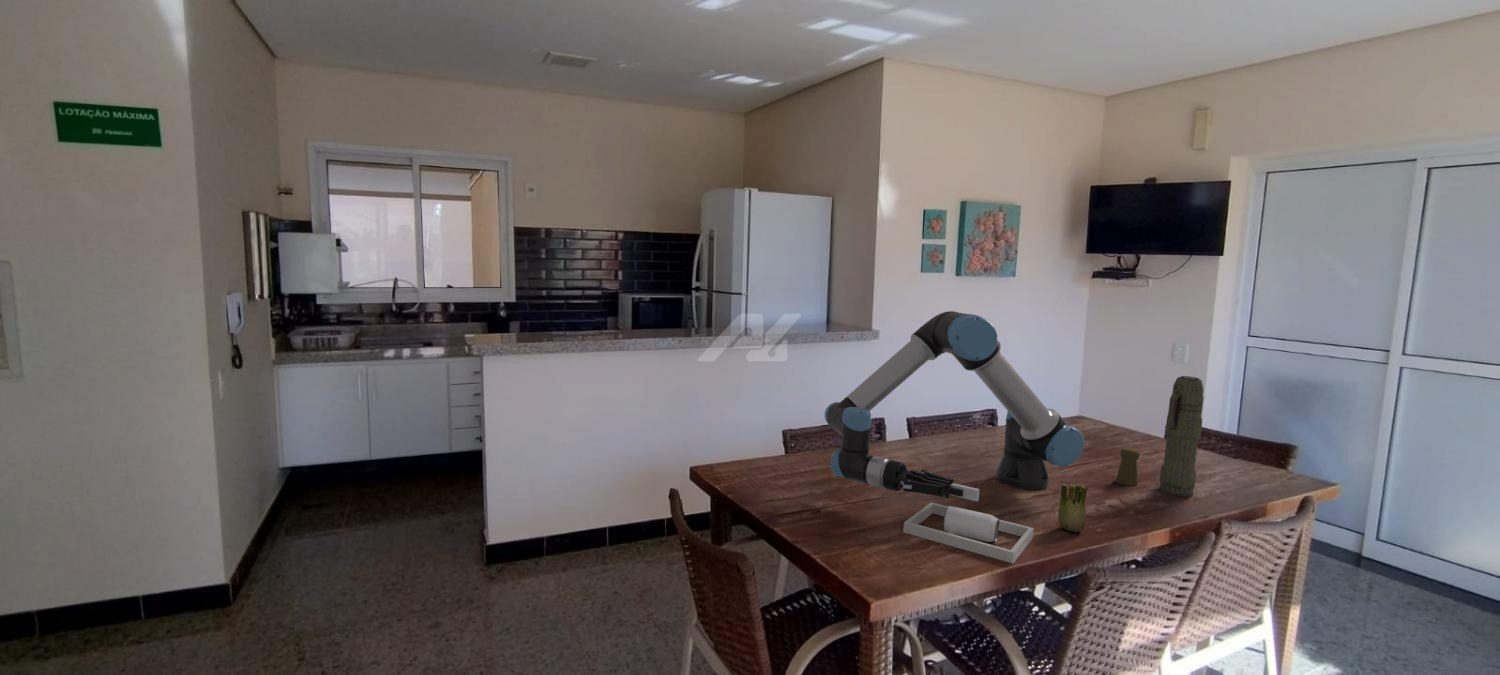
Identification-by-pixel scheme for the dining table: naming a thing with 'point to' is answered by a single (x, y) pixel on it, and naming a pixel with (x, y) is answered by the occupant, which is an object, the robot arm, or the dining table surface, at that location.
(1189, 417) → the thermos
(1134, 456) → the olive tapered pillar
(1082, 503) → the fennel bulb
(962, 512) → the can
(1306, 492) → the dining table surface
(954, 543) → the frame
